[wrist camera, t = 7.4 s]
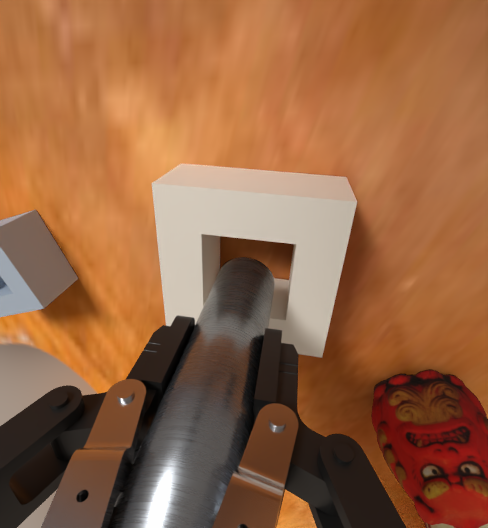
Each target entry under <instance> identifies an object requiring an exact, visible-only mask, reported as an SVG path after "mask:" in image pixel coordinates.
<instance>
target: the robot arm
mask: <svg viewBox="0 0 488 528" xmlns="http://www.w3.org/2000/svg"><path fill="white" fill-rule="evenodd" d="M194 327H195V319H194V318H193V317H186V316H179V315H177V316H176V317H175V319H174V321H173V322H172V324H171V326H164V325H163V326H162V327H160V328H159V329H158V330H157V331H155V332H154V333H153V335H152V337H151V338H150V340H149V342H148V344H147V345H146V347H145V348H144V351H143V352H142V353H141V355H140V357H139V358H138V360H137V362H136V363H135V365H134V367H133V368H132V370H131V372H130V373H129V375H128V377H127V378H126V380H122V381H120V382H118V383H116V384H114V385H113V386H112V387H111V388H110V389H109V390H108V392H105V393H100V394H92V395H84V396H82V394H81V391H80V390H79V389H78V388H76V387H74V386H62V387H58V388H55V389H53V390H51V391H50V392H48V393H47V394H45V395H44V396H43V397H41V398H40V399H38V400H37V401H35V402H34V403H33V404H31V405H30V406H28V407H27V408H26V409H24V410H23V411H22V412H20V413H18V414H17V415H16V416H14V417H13V418H11V419H10V420H9V421H7V422H6V423H5V424H3V425H1V426H0V528H17V527H18V526H19V525H20V524H21V523H22V522H23V521H24V520H25V519H26V518H27V517H28V516H29V515H30V514H31V513H32V512H34V511H35V509H37V508H38V507H39V506H40V505H41V504H42V503H43V502H44V501H45V500H46V499H47V498H48V497H49V496H50V495H51V494H52V493H53V492H54V491H56V490H57V491H56V494H55V496H54V498H53V501H52V503H51V505H50V508H49V510H48V512H47V515H46V517H45V519H44V522H43V524H42V526H41V528H111V527H110V526H111V524H112V522H113V519H114V517H115V515H116V512H117V510H118V508H117V507H114V505H115V502H116V500H117V498H118V496H119V495H120V494H121V493H122V492H123V489H124V486H125V483H126V481H127V478H128V475H129V472H130V470H131V467H132V465H133V462H134V460H135V457H136V455H137V453H138V451H139V449H140V446H141V444H142V442H143V440H144V437H145V435H146V433H147V431H148V429H149V426H150V424H151V422H152V420H153V418H154V415H155V413H156V411H157V409H158V406H159V404H160V402H161V400H162V398H163V395H164V393H165V391H166V389H167V386H168V384H169V382H170V380H171V378H172V375H173V373H174V371H175V369H176V367H177V364H178V362H179V360H180V358H181V355H182V353H183V351H184V349H185V347H186V344H187V342H188V340H189V338H190V335H191V333H192V331H193V329H194ZM281 339H282V330H277V329H270V328H265V334H264V340H263V346H262V352H261V358H260V365H259V371H258V377H257V383H256V390H255V396H254V405H253V415H254V426H253V429H252V432H251V435H250V437H249V440H248V443H247V446H246V448H245V451H244V454H243V456H242V459H241V462H240V465H239V467H238V469H237V470H235V471H234V473H233V475H232V477H231V479H230V482H229V485H228V487H227V490H226V493H225V495H224V498H223V501H222V503H221V506H220V509H219V511H218V514H217V517H216V519H215V522H214V525H213V527H212V528H276V527H277V523H278V518H279V514H280V510H281V505H282V501H283V497H284V492H285V489H286V490H288V491H289V492H291V493H293V494H294V495H296V496H298V497H299V498H301V499H303V500H304V501H306V502H308V503H309V507H310V509H311V512H312V515H313V518H314V520H315V523H316V526H317V528H406V526H405V525H404V523H403V521H402V519H401V517H400V516H399V514H398V512H397V510H396V508H395V507H394V505H393V503H392V501H391V500H390V498H389V496H388V494H387V492H386V491H385V489H384V487H383V485H382V483H381V482H380V480H379V478H378V476H377V475H376V473H375V471H374V469H373V467H372V466H371V464H370V462H369V460H368V458H367V457H366V455H365V453H364V451H363V450H362V448H361V447H360V445H359V444H358V443H357V442H356V441H354V440H353V439H352V438H350V437H348V436H346V435H342V434H332V435H329V436H327V437H324V436H322V435H320V434H318V433H316V432H314V431H312V430H311V429H309V428H308V427H307V426H306V425H305V424H304V423H303V422H302V421H301V419H300V417H299V415H298V411H297V387H298V353H297V351H296V349H295V347H294V345H293V344H286V343H281Z"/></svg>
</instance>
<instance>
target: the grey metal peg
mask: <svg viewBox="0 0 488 528" xmlns="http://www.w3.org/2000/svg"><path fill="white" fill-rule="evenodd" d="M274 287H275V282H274V277H273V275H272V273H271V271H270V270H269V269H268V267H266V266H265V265H264V264H263V263H261V262H260V261H258V260H255V259H252V258H247V257H240V258H235V259H232V260H230V261H228V262H227V263H225V264H224V265H223V266H222V268H221V269H220V271H219V273H218V276H217V278H216V280H215V282H214V284H213V287H212V289H211V291H210V293H209V296H208V298H207V300H206V302H205V304H204V307H203V309H202V311H201V313H200V315H199V318H198V320H197V322H196V324H195V327H194V329H193V331H192V333H191V335H190V338H189V340H188V342H187V344H186V347H185V349H184V351H183V353H182V355H181V358H180V360H179V362H178V364H177V367H176V369H175V371H174V373H173V375H172V378H171V380H170V382H169V384H168V386H167V389H166V391H165V393H164V395H163V398H162V400H161V402H160V404H159V406H158V409H157V411H156V413H155V415H154V418H153V420H152V422H151V424H150V426H149V429H148V431H147V433H146V435H145V437H144V440H143V442H142V444H141V446H140V449H139V451H138V453H137V455H136V457H135V460H134V462H133V465H132V467H131V470H130V472H129V475H128V478H127V481H126V483H125V486H124V489H123V492H122V493H121V494H120V495H119V496H118V498H117V500H116V502H115V505H114V507H117V508H118V510H117V512H116V515H115V517H114V519H113V522H112V524H111V526H110V527H111V528H212V527H213V525H214V522H215V519H216V517H217V514H218V511H219V509H220V506H221V503H222V501H223V498H224V495H225V493H226V490H227V487H228V485H229V482H230V479H231V477H232V475H233V473H234V471H235V470H237V469H238V467H239V465H240V462H241V459H242V456H243V454H244V451H245V448H246V446H247V443H248V440H249V437H250V435H251V432H252V429H253V426H254V415H253V405H254V396H255V390H256V383H257V377H258V371H259V365H260V358H261V352H262V346H263V340H264V334H265V328H268V327H269V320H270V313H271V307H272V300H273V293H274Z"/></svg>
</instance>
